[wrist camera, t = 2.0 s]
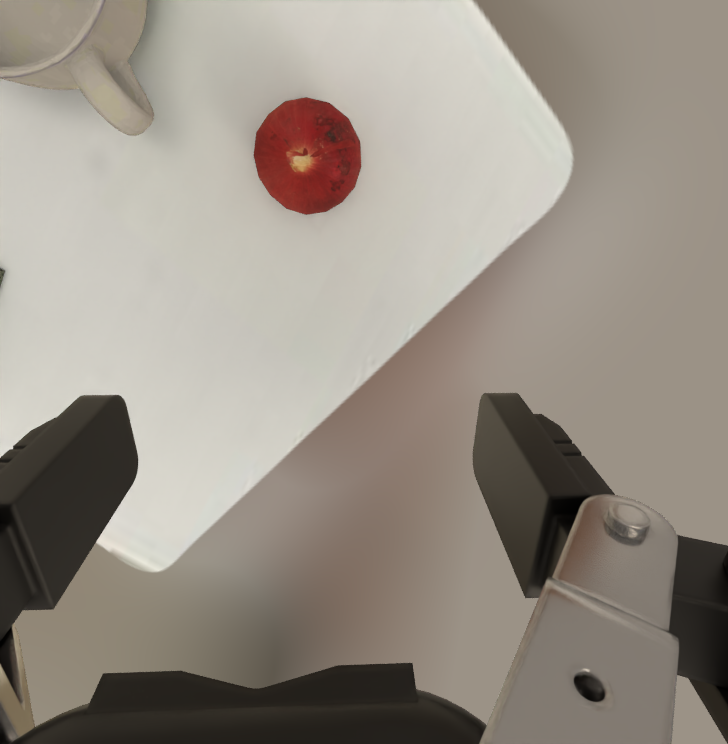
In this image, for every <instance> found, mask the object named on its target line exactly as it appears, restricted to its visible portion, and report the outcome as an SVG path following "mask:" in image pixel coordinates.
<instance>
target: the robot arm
mask: <svg viewBox="0 0 728 744" xmlns="http://www.w3.org/2000/svg"><path fill="white" fill-rule="evenodd" d="M473 468H474V474H475V477H476V480H477V482H478V485H479V487H480V490H481V492H482V494H483V497H484V499H485V502H486V504H487V506H488V509H489V511H490V514H491V516H492V519H493V521H494V523H495V526H496V528H497V531H498V533H499V535H500V538H501V540H502V543H503V545H504V547H505V550H506V552H507V555H508V557H509V560H510V562H511V564H512V567H513V569H514V572H515V574H516V577H517V579H518V581H519V584H520V586H521V589H522V591H523V593H524V596H525V598H539V599H538V601H537V604H536V606H535V609H534V611H533V614H532V616H531V618H530V621H529V623H528V626H527V628H526V631H525V633H524V636H523V638H522V641H521V643H520V645H519V648H518V650H517V653H516V655H515V657H514V660H513V662H512V665H511V667H510V670H509V672H508V675H507V677H506V679H505V682H504V684H503V687H502V689H501V692H500V694H499V697H498V699H497V701H496V704H495V706H494V709H493V711H492V714H491V716H490V718H489V721H488V724H487V725H486V724H485V723H484V722H482V721H481V720H480V719H478V718H477V717H475V716H474V715H472V714H471V713H469V712H468V711H466V710H465V709H463V708H462V707H459V706H458V705H456V704H454V703H452V702H450V701H448V700H447V699H444V698H441V697H439V696H436V695H434V694H431V693H429V692H425V691H421V690H417V689H416V686H415V679H414V672H413V665H412V663H396V664H368V665H341V666H335V667H331V668H328V669H325V670H322V671H318V672H315V673H311V674H308V675H305V676H301V677H298V678H295V679H292V680H288V681H285V682H282V683H278V684H275V685H271V686H268V687H265V688H260V689H252V688H247V687H243V686H239V685H235V684H231V683H227V682H223V681H219V680H215V679H211V678H207V677H203V676H199V675H195V674H191V673H187V672H183V671H162V672H134V673H106V674H103V675H102V677H101V679H100V681H99V684H98V686H97V688H96V691H95V693H94V695H93V697H92V699H91V701H90V703H88V704H85V705H82V706H79V707H77V708H74V709H72V710H69V711H67V712H64V713H62V714H60V715H58V716H56V717H54V718H52V719H50V720H48V721H46V722H44V723H42V724H40V725H38V726H36V727H35V724H34V720H33V714H32V709H31V703H30V697H29V692H28V686H27V680H26V674H25V669H24V663H23V657H22V651H21V645H20V639H19V635H18V632H17V629H16V627H15V625H14V622H15V620H16V619H17V618H18V616H19V615H20V613H21V612H22V610H45V609H46V610H48V609H54V608H55V606H56V604H57V603H58V601H59V600H60V598H61V596H62V595H63V593H64V592H65V590H66V589H67V587H68V585H69V584H70V582H71V581H72V579H73V577H74V576H75V574H76V572H77V571H78V570H79V568H80V566H81V565H82V563H83V562H84V560H85V558H86V557H87V555H88V554H89V552H90V551H91V549H92V547H93V546H94V544H95V543H96V541H97V539H98V538H99V536H100V535H101V533H102V532H103V530H104V528H105V527H106V525H107V524H108V522H109V520H110V519H111V517H112V516H113V514H114V513H115V511H116V509H117V508H118V506H119V505H120V503H121V501H122V500H123V498H124V497H125V495H126V494H127V492H128V490H129V489H130V487H131V486H132V484H133V482H134V480H135V478H136V474H137V469H138V454H137V450H136V445H135V441H134V437H133V432H132V428H131V424H130V419H129V415H128V411H127V406H126V403H125V401H124V399H123V398H122V397H121V396H119V395H83V396H80V397H79V398H77V399H76V400H75V401H74V402H73V403H72V404H71V405H70V406H69V407H68V408H67V409H66V410H65V411H63V412H62V413H61V414H60V415H59V416H58V417H57V418H54V419H52V420H50V421H48V422H46V423H45V424H43V425H41V426H39V427H37V428H35V429H33V430H31V431H30V432H29V433H28V434H27V435H25V436H24V437H23V438H22V439H21V440H20V441H19V442H18V443H16V444H15V445H14V446H13V449H12V450H9V451H8V452H6V453H5V454H4V455H3V456H2V457H1V458H0V744H671V742H672V730H673V717H674V705H675V704H674V703H675V693H676V680H677V675H680V676H683V677H687V678H688V679H689V680H690V682H691V683H692V685H693V686H694V688H695V690H696V692H697V694H698V695H699V697H700V698H701V700H702V702H703V703H704V705H705V707H706V708H707V710H708V712H709V713H710V715H711V717H712V718H713V720H714V722H715V723H716V725H717V727H718V728H719V730H720V732H721V733H722V735H723V737H724V738H725V740H726V742H727V743H728V546H727V545H722V544H717V543H712V542H707V541H702V540H698V539H692V538H688V537H683V536H679V535H677V534H676V531H675V530H674V528H673V527H672V525H671V524H670V523H669V522H668V521H667V520H666V519H665V518H664V517H663V516H662V515H661V514H659V513H658V512H657V511H655V510H654V509H652V508H650V507H649V506H647V505H645V504H642V503H641V502H638V501H635V500H633V499H630V498H626V497H623V496H618V495H615V494H614V493H613V492H612V490H611V489H610V488H609V486H608V485H607V484H606V483H605V481H604V480H603V479H602V478H601V476H600V475H599V474H598V473H597V472H596V470H595V469H594V468H593V467H592V465H591V464H590V463H589V462H588V460H587V459H586V458H585V457H584V456H582V455H581V452H580V450H579V449H578V448H577V447H576V445H575V444H572V440H571V439H570V438H569V437H568V435H567V434H566V433H565V432H564V430H563V429H562V428H561V427H560V426H559V425H558V424H556V423H554V422H553V421H551V420H550V419H548V418H547V417H545V416H544V415H542V414H533V413H532V412H531V410H530V409H529V408H528V406H527V405H526V403H525V402H524V401H523V400H522V398H521V397H520V395H519V394H517V393H484V394H483V395H482V397H481V400H480V404H479V411H478V419H477V425H476V433H475V441H474V447H473Z"/></svg>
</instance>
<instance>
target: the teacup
mask: <svg viewBox="0 0 728 744" xmlns="http://www.w3.org/2000/svg"><path fill="white" fill-rule="evenodd" d="M146 12H147V0H0V78H2V79H5V80H9V81H12V82H16V83H20V84H24V85H28V86H34V87H39V88H45V89H55V90H71V89H78V88H79V89H80V90H81V92H82V93H83V94H84V96H85V97H86V98H87V100H88V101H89V102H90V104H91V105H92V106H93V107H94V108H95V109H96V110H97V112H98V113H99V114H100V115H101V116H102V117H104V118H105V119H106V120H107V121H108V122H109V123H110V124H111V125H112V126H114V127H115V128H116V129H118V130H119V131H121V132H123V133H125V134H127V135H132V136H136V135H139V134H141V133H143V132H144V131H145V130H146V129H147V128H148V127H149V126H150V125H151V123H152V122H153V119H154V113H153V109H152V107H151V104H150V102H149V100H148V98H147V96H146V94H145V93H144V91H143V89H142V88H141V86H140V84H139V83H138V81H137V79H136V78H135V76H134V74H133V71H132V68H131V66H130V64H129V63H128V59H129V57H130V56H131V55H132V53H133V51H134V49H135V47H136V46H137V44H138V41H139V39H140V36H141V34H142V31H143V28H144V24H145V19H146Z"/></svg>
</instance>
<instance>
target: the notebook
mask: <svg viewBox="0 0 728 744" xmlns="http://www.w3.org/2000/svg"><path fill="white" fill-rule="evenodd" d="M4 272H5V271H4V270H2V269H0V286H1V282H2V279H3V275H4Z"/></svg>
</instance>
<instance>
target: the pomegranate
mask: <svg viewBox="0 0 728 744" xmlns="http://www.w3.org/2000/svg"><path fill="white" fill-rule="evenodd" d="M254 159H255V163H256V167H257V171H258V176H259V178H260V180H261V181H262V183H263V184H264V186H265V188H266V189H267V191H268V192H269V194H270V195H271V196H272V197H273V198H275V199H276V200H277V201H278V202H279V203H280V204H282V205H283V206H284V207H285V208H287V209H290V210H293V211H296V212H299V213H303V214H306V215H307V214H313V213H320V212H326V211H328V210H330V209H331V208H333V207H335V206H336V205H338V204H340V203H341V202H343V201H344V199H345V198H346V197H347V196H348V195H349V193H350V192H351V191H352V190H353V189H354V187H355V185H356V181H357V178H358V175H359V172H360V169H361V151H360V141H359V139H358V137H357V135H356V133H355V131H354V129H353V127H352V125H351V122H350V120H349V119H348V118H347V117H346V116H345V115H343V114H342V113H341V112H340V111H339V110H337V109H336V108H335V107H334V106H332V105H331V104H330V103H327V102H323V101H319V100H315V99H311V98H306V97H305V98H300V99H295V100H290V101H285V102H284V103H283V104H281V105H280V106H279V107H277V108H276V109H275V110H273V111H272V112H271V113H269V114H268V116H267V117H266V119H265V120H264V122H263V123H262V125H261V126H260V128H259V129H258V131H257V133H256V140H255V149H254Z"/></svg>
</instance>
